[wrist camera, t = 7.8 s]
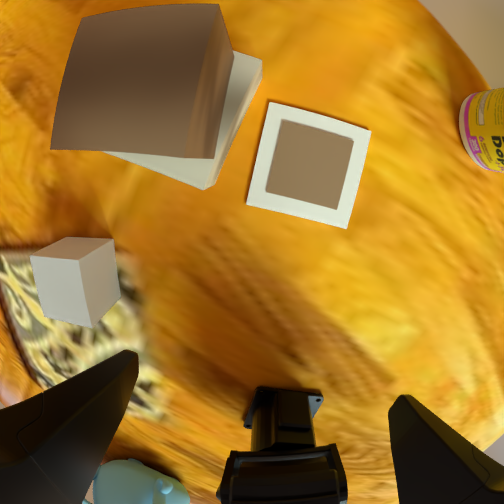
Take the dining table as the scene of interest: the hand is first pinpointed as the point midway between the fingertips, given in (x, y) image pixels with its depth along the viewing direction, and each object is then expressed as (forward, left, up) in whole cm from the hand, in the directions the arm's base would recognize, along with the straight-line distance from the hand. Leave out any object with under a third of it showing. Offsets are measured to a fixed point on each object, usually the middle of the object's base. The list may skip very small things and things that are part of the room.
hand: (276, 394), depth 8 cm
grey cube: (-4, +14, -13) cm, 19 cm away
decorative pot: (-41, +10, -13) cm, 44 cm away
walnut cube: (+9, +8, -9) cm, 15 cm away
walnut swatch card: (+7, -1, -12) cm, 14 cm away
